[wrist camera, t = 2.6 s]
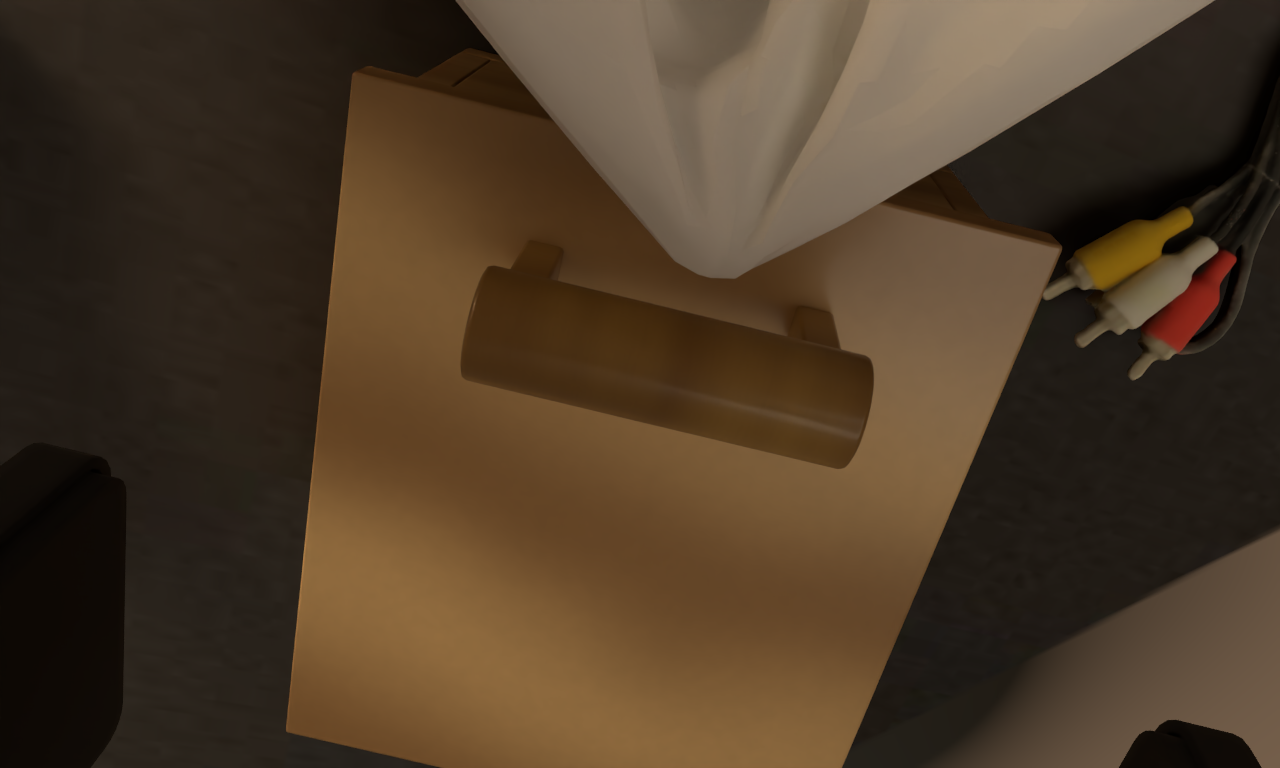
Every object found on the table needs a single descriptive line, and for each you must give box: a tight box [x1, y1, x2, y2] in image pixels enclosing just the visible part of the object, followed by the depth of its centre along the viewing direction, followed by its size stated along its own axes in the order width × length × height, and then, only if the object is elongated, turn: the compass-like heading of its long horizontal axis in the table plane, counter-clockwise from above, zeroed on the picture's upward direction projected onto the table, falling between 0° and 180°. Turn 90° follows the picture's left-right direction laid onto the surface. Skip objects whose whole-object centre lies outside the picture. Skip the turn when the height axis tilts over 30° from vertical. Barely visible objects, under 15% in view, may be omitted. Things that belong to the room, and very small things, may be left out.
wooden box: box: [418, 48, 988, 218], centre depth 26 cm, size 15×13×8 cm
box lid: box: [286, 66, 1062, 768], centre depth 20 cm, size 15×13×5 cm
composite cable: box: [1042, 75, 1280, 380], centre depth 25 cm, size 10×5×2 cm, turn 140°
